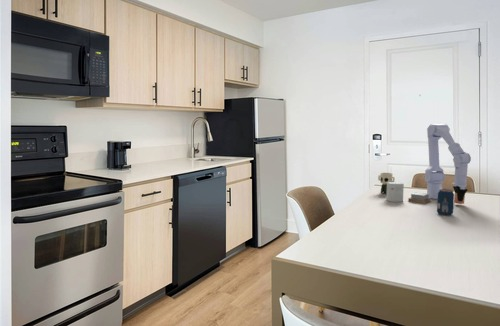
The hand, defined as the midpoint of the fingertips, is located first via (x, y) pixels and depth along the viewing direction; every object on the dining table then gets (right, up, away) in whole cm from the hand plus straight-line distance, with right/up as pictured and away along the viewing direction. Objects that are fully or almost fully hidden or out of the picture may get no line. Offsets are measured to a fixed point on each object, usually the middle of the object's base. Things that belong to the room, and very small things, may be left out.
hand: (459, 200), depth 194 cm
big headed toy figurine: (-27, +1, +34) cm, 43 cm away
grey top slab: (-17, 0, +10) cm, 20 cm away
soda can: (-19, -5, -19) cm, 27 cm away
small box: (-30, -2, +12) cm, 33 cm away
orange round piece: (0, -1, 0) cm, 1 cm away
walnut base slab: (-17, -2, +10) cm, 20 cm away
